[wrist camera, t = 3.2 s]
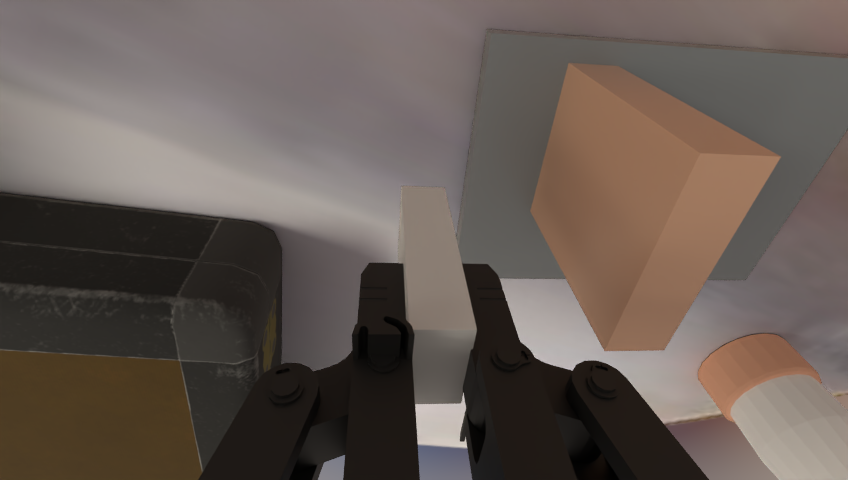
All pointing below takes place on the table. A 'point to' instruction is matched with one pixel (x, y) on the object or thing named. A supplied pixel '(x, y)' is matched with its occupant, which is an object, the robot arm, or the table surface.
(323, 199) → the table surface
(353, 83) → the table surface
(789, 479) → the salt shaker
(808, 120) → the slate board
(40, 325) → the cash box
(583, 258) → the tile
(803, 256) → the table surface
